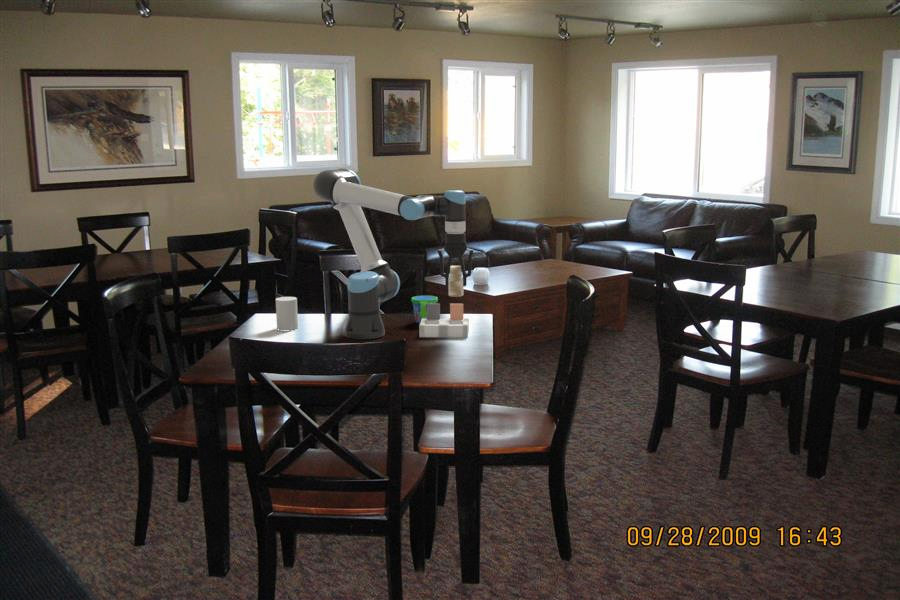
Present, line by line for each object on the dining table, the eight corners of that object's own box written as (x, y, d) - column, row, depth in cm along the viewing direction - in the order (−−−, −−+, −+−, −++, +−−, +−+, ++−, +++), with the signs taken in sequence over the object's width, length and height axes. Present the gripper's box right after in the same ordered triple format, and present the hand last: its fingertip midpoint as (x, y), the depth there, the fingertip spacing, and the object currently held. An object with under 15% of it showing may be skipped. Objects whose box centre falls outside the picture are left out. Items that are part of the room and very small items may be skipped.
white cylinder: (286, 325, 335) (285, 296, 333) (302, 327, 331) (301, 297, 329) (272, 329, 328) (271, 299, 326) (288, 332, 324) (287, 301, 322)
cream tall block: (450, 296, 313) (450, 267, 311) (451, 294, 317) (450, 265, 315) (461, 296, 313) (460, 267, 311) (461, 294, 317) (461, 265, 315)
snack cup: (416, 317, 347) (415, 293, 345) (441, 318, 346) (440, 294, 344) (408, 326, 332) (407, 301, 330) (434, 327, 330) (434, 301, 328)
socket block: (419, 337, 314) (419, 309, 312) (422, 329, 326) (421, 303, 324) (467, 337, 313) (467, 309, 311) (468, 329, 325) (468, 303, 323)
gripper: (431, 233, 307) (432, 296, 312) (478, 233, 306) (478, 296, 311) (433, 231, 315) (434, 293, 319) (478, 231, 314) (479, 293, 318)
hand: (456, 294), depth 315 cm, fingers closed on cream tall block, 4 cm apart
